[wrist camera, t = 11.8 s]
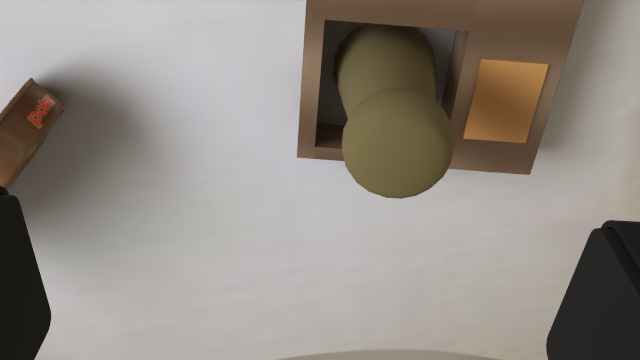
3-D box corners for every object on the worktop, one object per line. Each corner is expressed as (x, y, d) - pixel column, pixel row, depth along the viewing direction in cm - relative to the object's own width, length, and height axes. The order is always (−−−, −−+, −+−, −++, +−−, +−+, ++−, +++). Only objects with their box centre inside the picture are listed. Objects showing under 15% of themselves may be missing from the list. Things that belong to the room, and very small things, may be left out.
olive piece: (449, 31, 34) (491, 117, 25) (416, 123, 38) (444, 229, 28) (346, 8, 34) (351, 87, 24) (323, 103, 37) (319, 205, 28)
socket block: (320, -211, 28) (319, -212, 25) (613, -185, 28) (642, -184, 26) (299, 133, 38) (296, 159, 35) (517, 149, 38) (530, 176, 36)
